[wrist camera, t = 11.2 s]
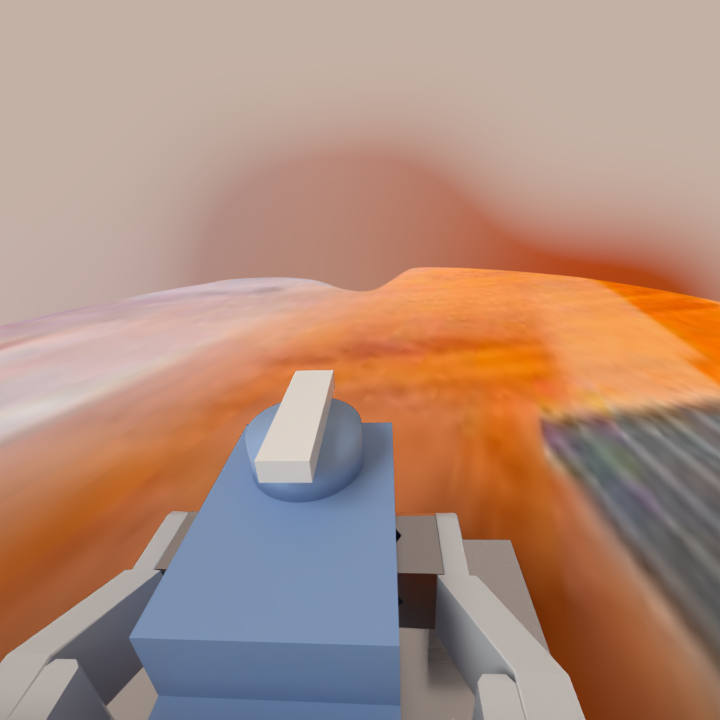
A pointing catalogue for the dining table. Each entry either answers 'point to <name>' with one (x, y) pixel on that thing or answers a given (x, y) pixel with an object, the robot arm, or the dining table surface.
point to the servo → (285, 575)
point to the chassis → (410, 649)
